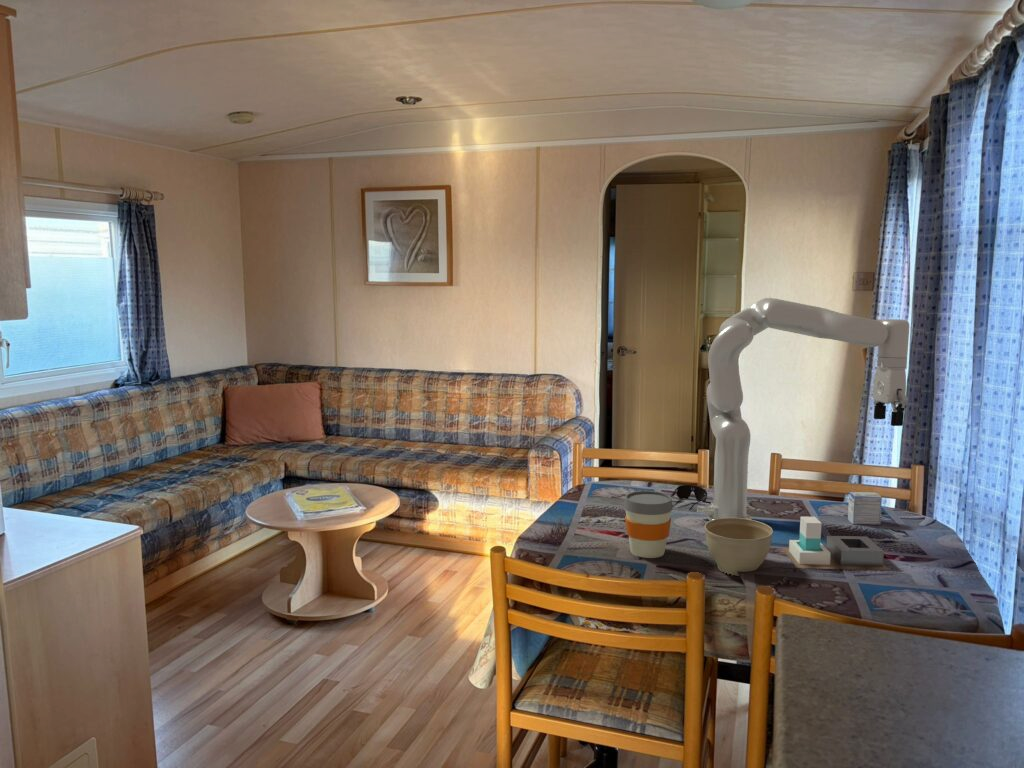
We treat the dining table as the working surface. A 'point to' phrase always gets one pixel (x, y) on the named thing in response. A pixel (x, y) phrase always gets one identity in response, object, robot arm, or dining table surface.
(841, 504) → the dining table surface
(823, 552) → the white rectangular frame
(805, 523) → the plug
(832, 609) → the dining table surface
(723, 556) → the planter bowl
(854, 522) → the medicine box
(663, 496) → the reusable coffee cup
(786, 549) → the panel board
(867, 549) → the port block
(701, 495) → the sunglasses
